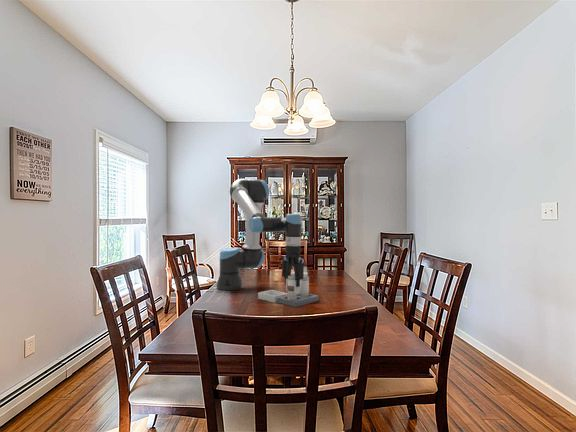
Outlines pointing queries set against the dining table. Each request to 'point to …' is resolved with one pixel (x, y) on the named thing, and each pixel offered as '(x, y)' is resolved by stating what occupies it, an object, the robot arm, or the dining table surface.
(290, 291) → the fuse
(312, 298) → the fuse panel
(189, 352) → the dining table surface
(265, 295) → the parts tray
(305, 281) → the fuse
